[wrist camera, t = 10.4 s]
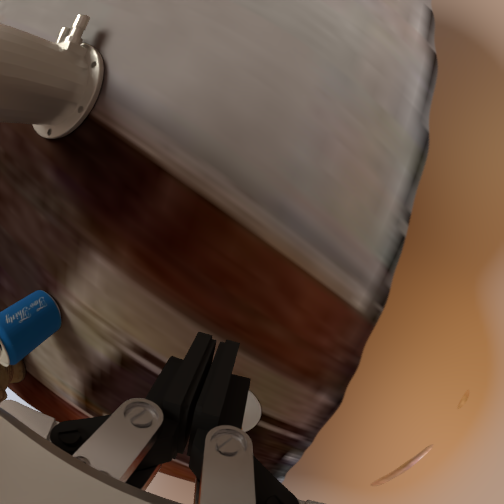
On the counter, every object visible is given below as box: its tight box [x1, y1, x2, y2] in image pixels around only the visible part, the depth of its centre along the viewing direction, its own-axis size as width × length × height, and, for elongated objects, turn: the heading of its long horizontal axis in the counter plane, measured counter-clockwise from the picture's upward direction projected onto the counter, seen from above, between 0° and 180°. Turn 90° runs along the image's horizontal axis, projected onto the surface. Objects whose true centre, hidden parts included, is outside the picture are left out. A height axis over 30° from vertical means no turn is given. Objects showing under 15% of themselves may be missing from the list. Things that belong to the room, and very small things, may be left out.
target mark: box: [242, 390, 261, 432], centre depth 33 cm, size 12×12×1 cm
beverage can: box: [0, 290, 61, 367], centre depth 27 cm, size 6×6×12 cm
